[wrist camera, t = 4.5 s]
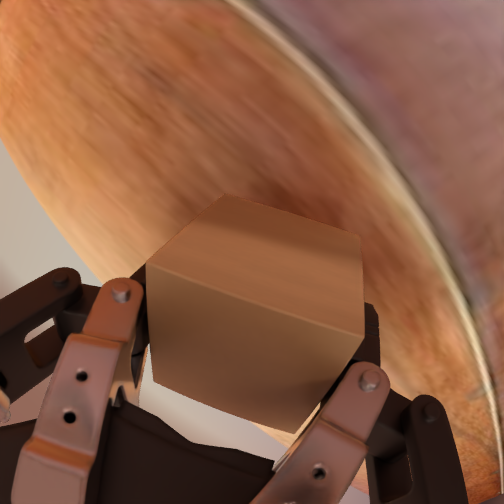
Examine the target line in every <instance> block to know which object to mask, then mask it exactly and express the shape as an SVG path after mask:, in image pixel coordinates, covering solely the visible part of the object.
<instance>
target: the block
mask: <svg viewBox="0 0 504 504" xmlns="http://www.w3.org/2000/svg"><path fill="white" fill-rule="evenodd" d="M146 295H147V315H148V330H149V342H150V353H151V363H152V372H153V380H154V382H156V383H158V384H160V385H162V386H164V387H166V388H169V389H171V390H173V391H175V392H177V393H180V394H182V395H184V396H186V397H189V398H191V399H193V400H196V401H198V402H201V403H203V404H206V405H208V406H211V407H213V408H216V409H219V410H221V411H224V412H226V413H229V414H232V415H235V416H237V417H240V418H243V419H246V420H249V421H252V422H255V423H258V424H261V425H265V426H268V427H271V428H274V429H278V430H281V431H285V432H288V433H292V434H295V433H296V432H297V430H298V429H299V428H300V427H301V425H302V424H303V423H304V422H305V421H306V419H307V418H308V417H309V416H310V414H311V413H312V412H313V410H314V409H315V408H316V407H317V405H318V404H319V403H320V401H321V400H322V399H323V397H324V396H325V395H326V393H327V392H328V391H329V389H330V388H331V387H332V385H333V384H334V382H335V381H336V380H337V378H338V377H339V375H340V374H341V372H342V371H343V370H344V368H345V367H346V365H347V364H348V362H349V361H350V359H351V358H352V356H353V355H354V353H355V352H356V350H357V349H358V347H359V346H360V344H361V342H362V341H363V339H364V338H365V319H364V285H363V266H362V251H361V239H360V235H357V234H354V233H351V232H348V231H345V230H342V229H339V228H336V227H333V226H330V225H327V224H324V223H321V222H318V221H315V220H312V219H309V218H306V217H303V216H299V215H296V214H293V213H290V212H287V211H283V210H280V209H277V208H273V207H270V206H267V205H264V204H260V203H257V202H253V201H250V200H247V199H243V198H240V197H236V196H233V195H229V194H224V195H222V196H221V197H220V198H219V199H217V200H216V201H215V202H214V203H213V204H211V205H210V206H209V207H208V208H207V209H206V210H204V211H203V212H202V213H201V214H200V215H198V216H197V217H196V218H195V219H194V220H193V221H191V222H190V223H189V224H188V225H187V226H186V227H184V228H183V229H182V230H181V231H180V232H179V233H178V234H176V235H175V236H174V237H173V238H172V239H171V240H170V241H168V242H167V243H166V244H165V245H164V246H163V247H162V248H161V249H159V250H158V251H157V252H156V253H155V254H154V255H153V256H152V257H151V258H149V259H148V260H147V261H146Z"/></svg>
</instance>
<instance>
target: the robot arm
mask: <svg viewBox="0 0 504 504" xmlns="http://www.w3.org/2000/svg"><path fill="white" fill-rule="evenodd" d="M50 318H53V321H54V324H55V325H53V326H52V327H50V328H48V329H47V330H46V331H44V332H42V333H41V334H39V335H38V336H36V337H35V338H33V339H32V340H30V341H29V342H27V343H24V340H25V337H26V335H27V334H28V333H29V332H30V331H32V330H33V329H35V328H36V327H38V326H40V325H41V324H43V323H44V322H46V321H47V320H49V319H50ZM364 319H365V338H364V339H363V341H362V342H361V344H360V346H359V347H358V349H357V350H356V352H355V353H354V355H353V356H352V358H351V359H350V361H349V362H348V364H347V365H346V367H345V368H344V370H343V371H342V372H341V374H340V375H339V377H338V378H337V380H336V381H335V382H334V384H333V385H332V387H331V388H330V389H329V391H328V392H327V393H326V395H325V396H324V397H323V399H322V400H321V403H320V408H319V410H318V411H317V412H316V413H315V415H314V416H313V417H312V419H311V420H310V422H309V423H308V424H307V426H306V427H305V428H304V430H303V431H302V432H301V434H300V435H299V436H298V438H297V439H296V440H295V441H294V443H293V444H292V445H291V447H290V448H289V449H288V450H287V452H286V453H285V454H284V455H283V456H282V457H281V459H280V460H279V461H278V462H277V463H276V464H275V465H274V462H275V461H274V460H270V459H266V458H263V457H260V456H256V455H253V454H250V453H247V452H244V451H241V450H238V449H232V448H224V447H216V446H209V445H203V444H197V443H193V442H190V441H189V440H187V439H186V438H185V437H183V436H182V435H180V434H179V433H178V432H176V431H175V430H174V429H173V428H171V427H170V426H169V425H167V424H166V423H165V422H164V421H162V420H161V419H160V418H159V417H157V416H155V415H153V414H151V413H149V412H147V411H145V410H143V409H141V408H139V393H140V387H141V382H142V377H143V372H144V366H145V362H146V357H147V352H148V347H147V345H148V344H149V343H150V342H149V330H148V315H147V295H146V263H145V264H144V265H143V266H142V267H140V268H139V269H138V270H137V271H136V272H135V273H134V274H133V275H132V276H131V277H130V278H115V279H112V280H109V281H108V282H106V283H105V284H104V285H103V286H102V287H97V286H91V285H86V284H82V283H81V277H80V274H79V273H78V272H77V271H76V270H74V269H72V268H68V267H62V268H57V269H54V270H52V271H50V272H48V273H46V274H45V275H43V276H41V277H39V278H37V279H35V280H34V281H32V282H30V283H28V284H26V285H25V286H23V287H21V288H19V289H18V290H16V291H14V292H13V293H11V294H9V295H7V296H5V297H4V298H2V299H0V422H3V423H6V422H8V421H9V419H10V416H11V414H10V411H9V408H10V404H11V403H13V402H14V401H16V400H17V399H18V398H20V397H21V396H22V395H24V394H25V393H26V392H28V391H29V390H30V389H32V388H33V387H34V386H36V385H37V384H39V383H40V382H41V381H43V380H44V379H45V378H47V377H48V376H49V375H51V374H52V373H53V374H52V377H51V380H50V382H49V385H48V388H47V391H46V394H45V397H44V400H43V403H42V406H41V408H40V412H39V415H38V418H37V419H33V420H29V421H25V422H21V423H16V424H12V425H7V426H2V427H0V504H338V503H339V502H340V500H341V499H342V497H343V496H344V494H345V492H346V491H347V489H348V487H349V486H350V484H351V482H352V481H353V479H354V477H355V475H356V474H357V472H358V470H359V468H360V466H361V465H362V463H363V461H364V459H365V460H366V468H367V477H368V486H369V496H370V504H469V503H468V498H467V492H466V487H465V482H464V478H463V473H462V469H461V464H460V460H459V456H458V452H457V449H456V445H455V441H454V438H453V434H452V431H451V427H450V424H449V421H448V417H447V414H446V411H445V409H444V407H443V405H442V404H441V403H440V402H439V401H438V400H437V399H436V398H434V397H433V396H430V395H419V396H417V397H416V398H415V399H414V400H413V401H411V400H409V399H407V398H405V397H403V396H402V395H400V394H398V393H396V392H395V391H393V390H392V389H391V388H390V381H389V378H388V376H387V374H386V373H385V372H384V371H383V370H382V369H381V368H380V339H379V328H378V327H379V321H378V314H377V313H376V311H375V309H374V307H373V305H371V304H368V303H365V302H364ZM408 458H409V460H408ZM409 464H410V465H409ZM273 465H274V466H273ZM410 469H411V471H410ZM411 475H412V477H411Z"/></svg>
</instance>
